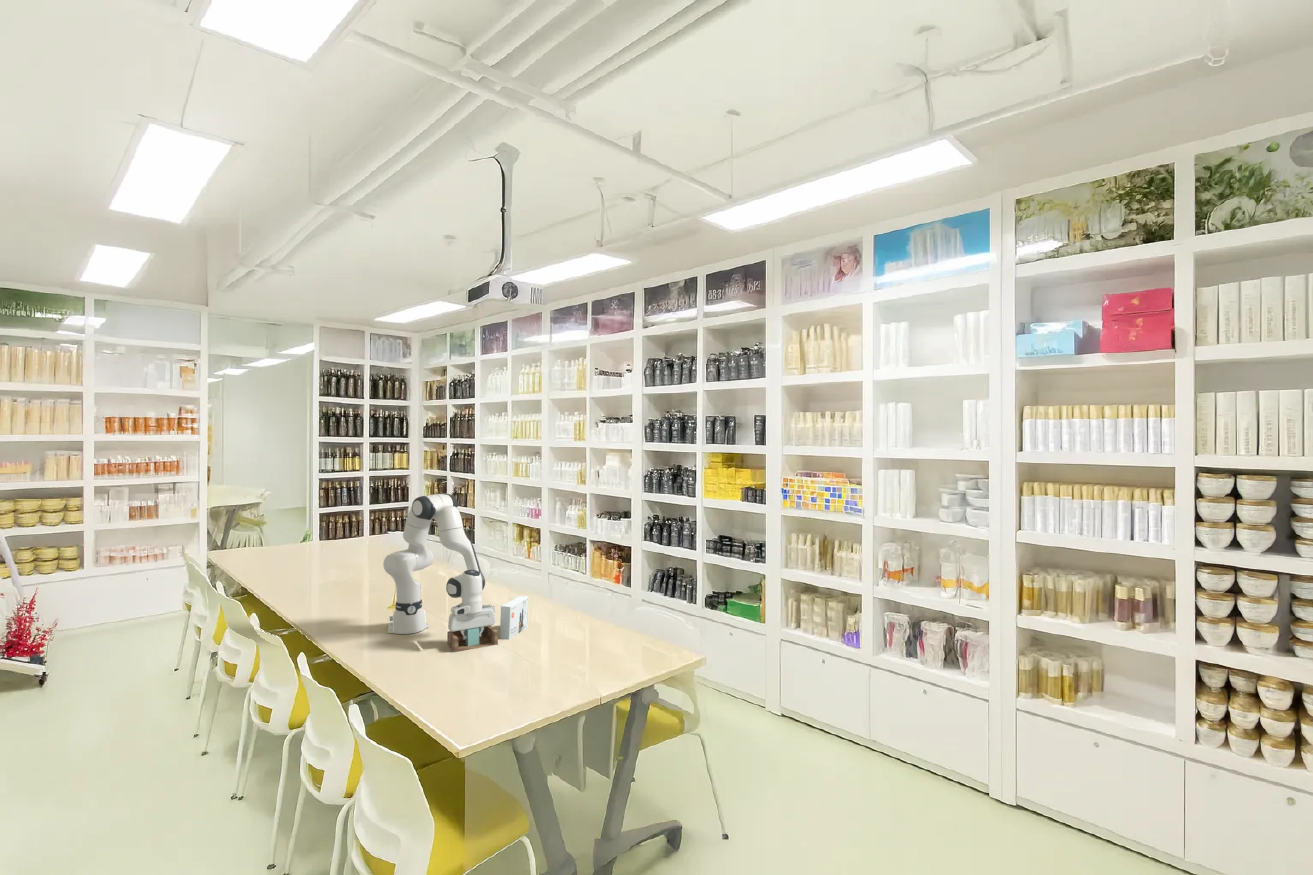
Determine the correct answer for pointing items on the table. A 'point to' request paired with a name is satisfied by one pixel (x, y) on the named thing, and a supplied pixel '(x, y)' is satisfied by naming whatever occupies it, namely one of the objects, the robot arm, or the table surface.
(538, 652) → the table surface
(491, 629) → the open-fronted box
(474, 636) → the teal block
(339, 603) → the table surface
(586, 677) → the table surface
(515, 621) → the skincare box
